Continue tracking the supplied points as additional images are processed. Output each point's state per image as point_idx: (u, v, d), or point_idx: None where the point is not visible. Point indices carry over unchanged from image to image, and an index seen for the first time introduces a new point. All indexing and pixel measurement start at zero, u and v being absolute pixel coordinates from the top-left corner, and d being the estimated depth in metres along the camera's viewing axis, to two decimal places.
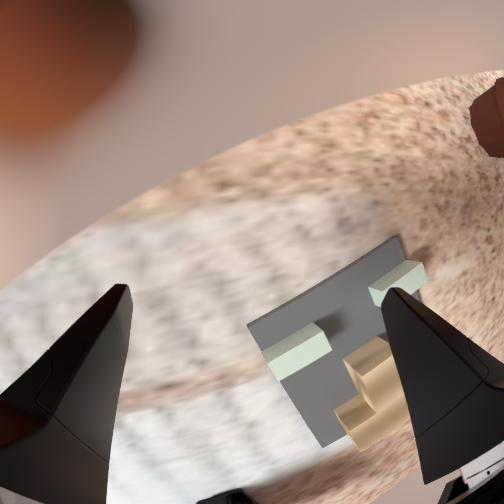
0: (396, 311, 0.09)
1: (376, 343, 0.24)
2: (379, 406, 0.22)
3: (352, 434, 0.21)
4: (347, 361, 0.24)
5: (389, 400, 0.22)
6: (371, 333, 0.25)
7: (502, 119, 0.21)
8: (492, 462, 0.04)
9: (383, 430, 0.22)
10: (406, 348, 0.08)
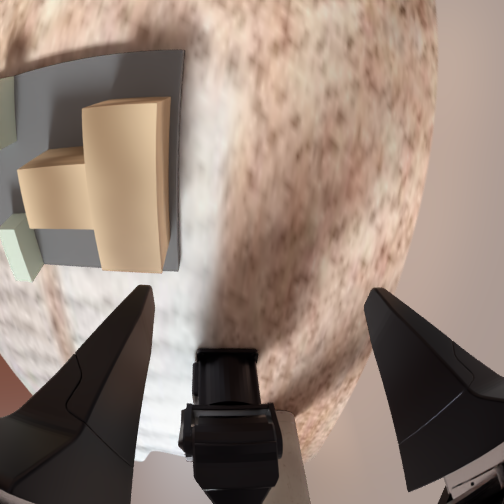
0: (378, 312, 0.09)
1: None
2: (83, 223, 0.15)
3: (111, 269, 0.17)
4: None
5: (83, 205, 0.14)
6: None
7: None
8: (477, 473, 0.04)
9: (139, 230, 0.16)
10: (388, 351, 0.08)
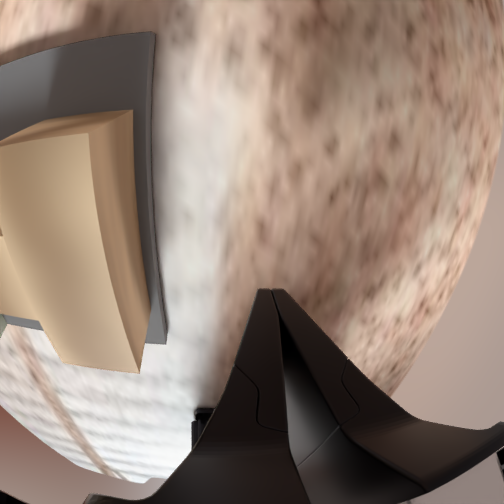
0: None
1: None
2: (23, 311, 0.09)
3: (73, 363, 0.11)
4: None
5: (17, 291, 0.08)
6: None
7: None
8: None
9: (98, 328, 0.10)
10: None
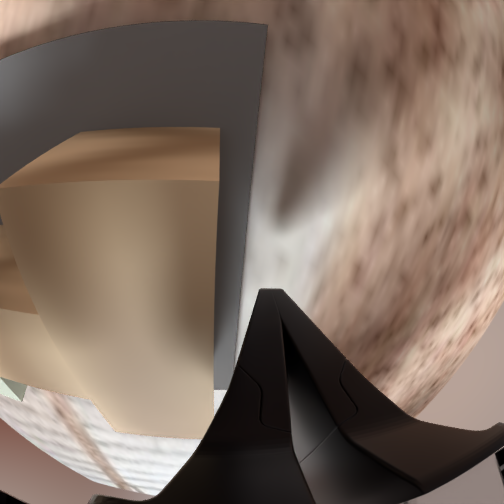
0: None
1: None
2: (68, 390, 0.07)
3: (130, 432, 0.09)
4: None
5: (60, 372, 0.06)
6: None
7: None
8: None
9: (177, 409, 0.08)
10: None
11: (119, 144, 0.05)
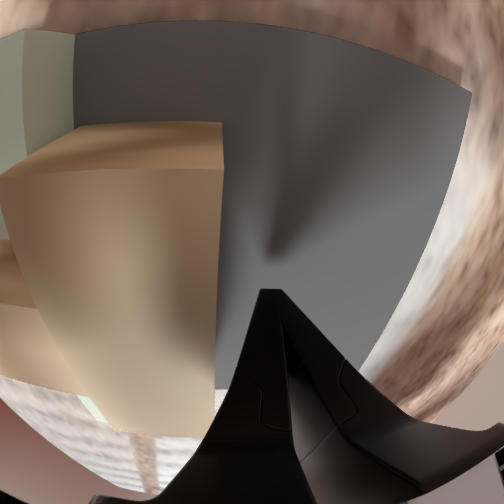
0: None
1: None
2: (67, 387, 0.07)
3: (129, 431, 0.09)
4: None
5: (59, 369, 0.06)
6: None
7: None
8: None
9: (177, 406, 0.08)
10: None
11: (121, 136, 0.05)
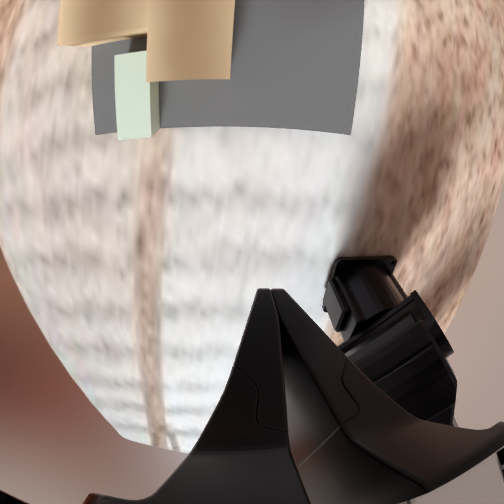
0: None
1: None
2: (135, 20, 0.09)
3: (160, 78, 0.11)
4: (82, 44, 0.12)
5: (140, 0, 0.09)
6: None
7: None
8: None
9: (209, 21, 0.10)
10: None
11: None
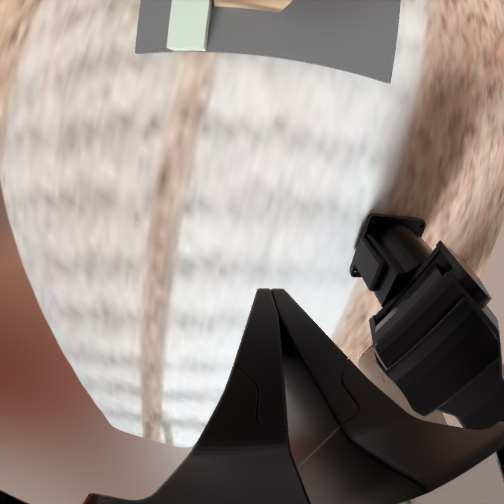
0: None
1: None
2: None
3: None
4: None
5: None
6: None
7: None
8: None
9: None
10: None
11: None
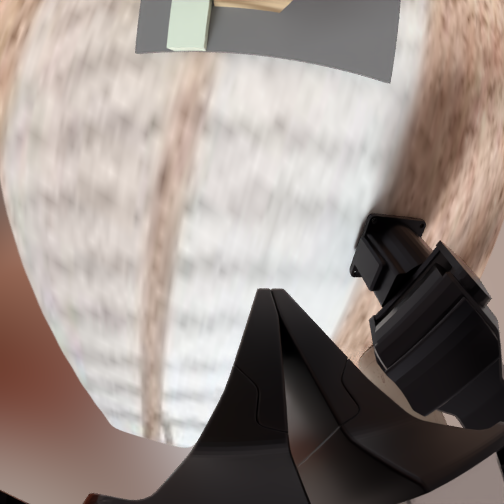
0: None
1: None
2: None
3: None
4: None
5: None
6: None
7: None
8: None
9: None
10: None
11: None
